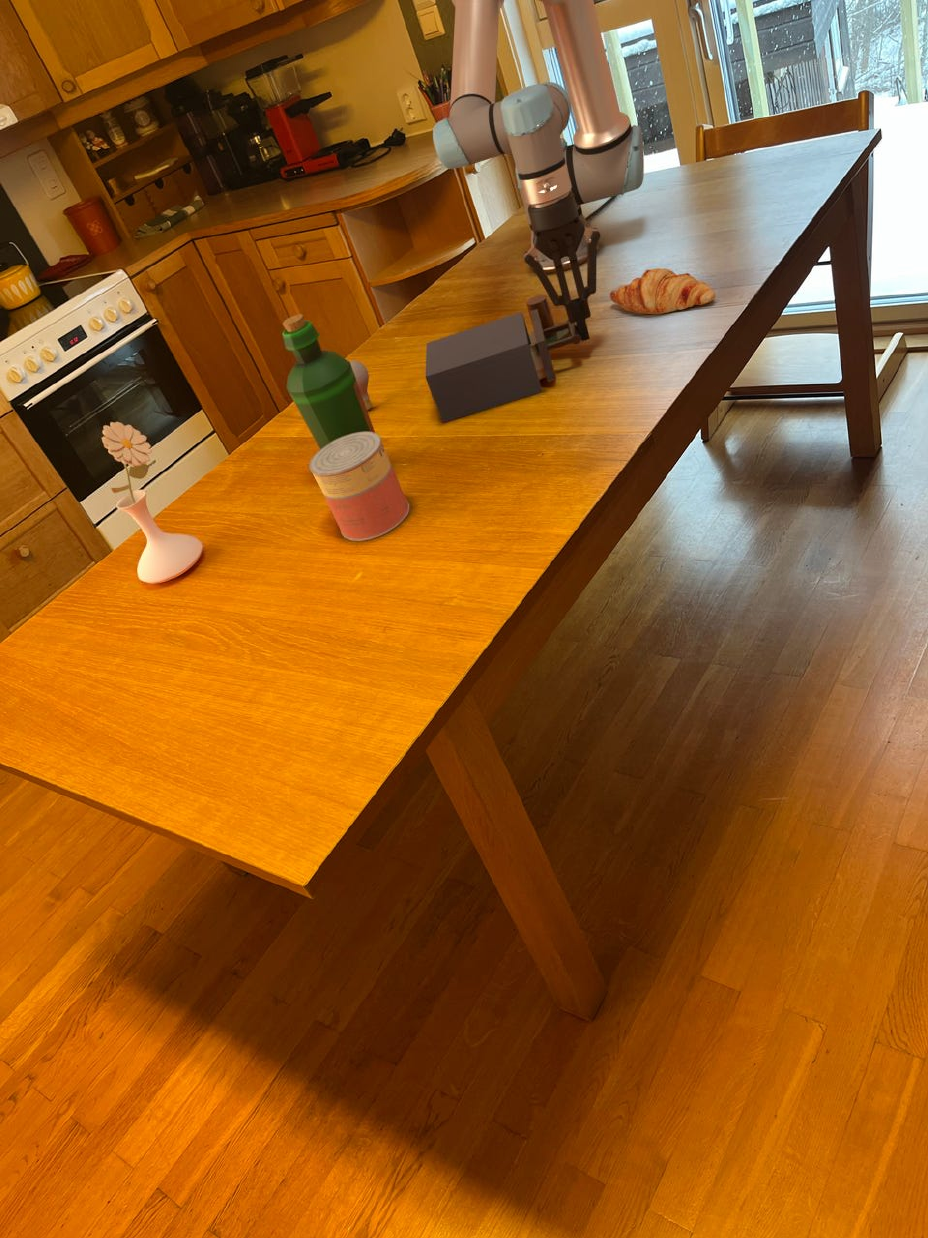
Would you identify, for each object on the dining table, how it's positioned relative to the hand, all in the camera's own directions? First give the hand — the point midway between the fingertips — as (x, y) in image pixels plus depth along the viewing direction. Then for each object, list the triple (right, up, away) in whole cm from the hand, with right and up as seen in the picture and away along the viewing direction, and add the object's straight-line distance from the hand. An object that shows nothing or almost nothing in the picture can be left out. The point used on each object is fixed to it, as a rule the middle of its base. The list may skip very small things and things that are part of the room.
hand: (584, 337), depth 155 cm
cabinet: (-16, -8, +6) cm, 19 cm away
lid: (-5, +5, +15) cm, 17 cm away
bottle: (-38, -25, -4) cm, 45 cm away
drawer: (-11, -5, +4) cm, 13 cm away
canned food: (-34, -33, -17) cm, 51 cm away
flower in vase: (-68, -40, -7) cm, 79 cm away
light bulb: (-39, -9, +16) cm, 43 cm away
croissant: (+15, +8, +9) cm, 20 cm away
